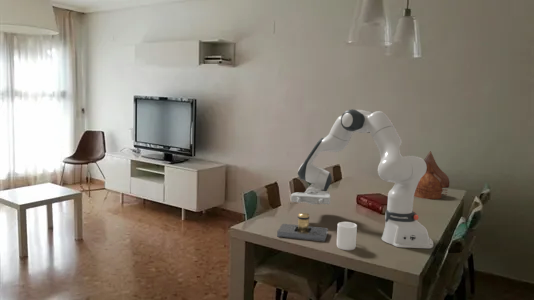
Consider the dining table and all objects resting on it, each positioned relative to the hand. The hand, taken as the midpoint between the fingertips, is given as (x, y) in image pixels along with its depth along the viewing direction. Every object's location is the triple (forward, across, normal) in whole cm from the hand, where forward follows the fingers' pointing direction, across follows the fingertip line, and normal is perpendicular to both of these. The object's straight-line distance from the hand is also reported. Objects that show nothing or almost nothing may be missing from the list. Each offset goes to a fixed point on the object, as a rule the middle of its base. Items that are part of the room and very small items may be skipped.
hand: (308, 201), depth 215 cm
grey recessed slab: (+12, -1, +13) cm, 18 cm away
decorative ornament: (-90, +66, +13) cm, 112 cm away
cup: (+21, +20, +14) cm, 32 cm away
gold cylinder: (+12, -1, +13) cm, 18 cm away
